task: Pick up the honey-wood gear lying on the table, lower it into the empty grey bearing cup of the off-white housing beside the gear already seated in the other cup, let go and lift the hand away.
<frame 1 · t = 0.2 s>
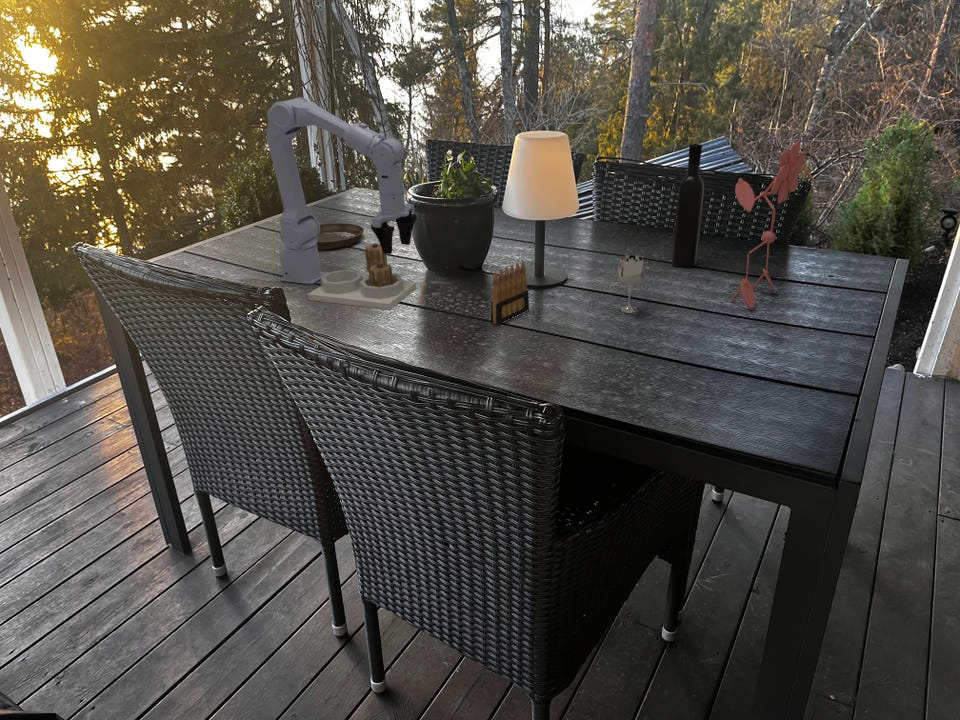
hand: (396, 248, 168), 10 cm above the table, tool pointing down, fingers open, 7 cm apart
wineglass: (628, 310, 154), on the table
housing: (363, 294, 169), on the table
loose gear: (377, 268, 186), on the table
figurine: (769, 304, 154), on the table
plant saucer: (330, 242, 210), on the table
seated gear: (382, 290, 166), resting on housing
ammunition clip: (510, 318, 153), on the table
wine bottle: (683, 265, 179), on the table
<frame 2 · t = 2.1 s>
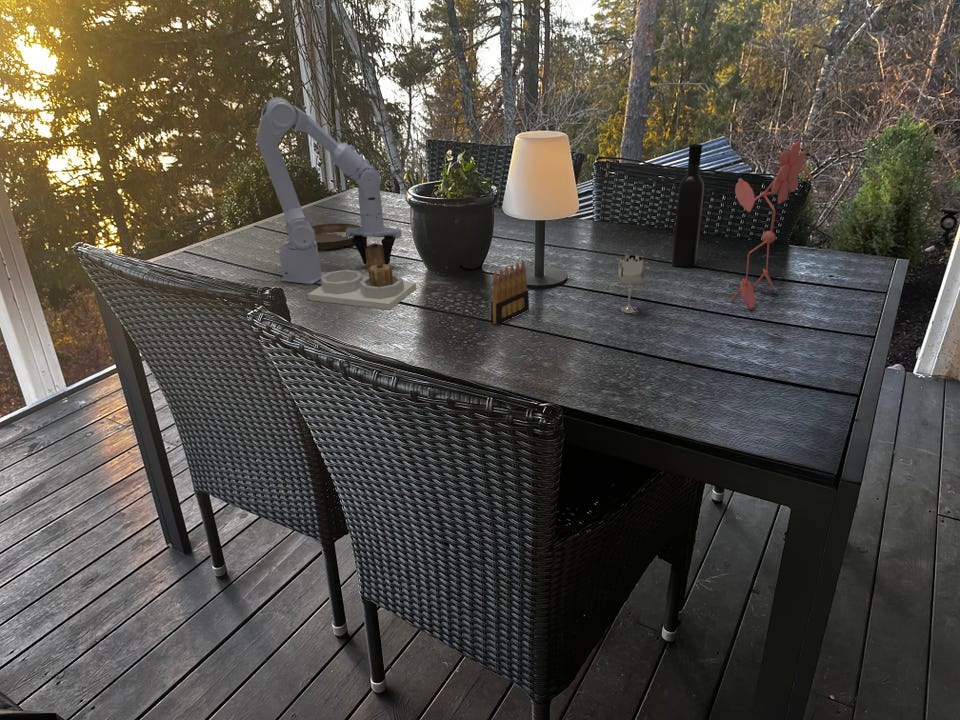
hand: (376, 263, 185), 1 cm above the table, tool pointing down, fingers closed on loose gear, 5 cm apart
loose gear: (377, 268, 186), on the table, touching gripper
everything else where it was.
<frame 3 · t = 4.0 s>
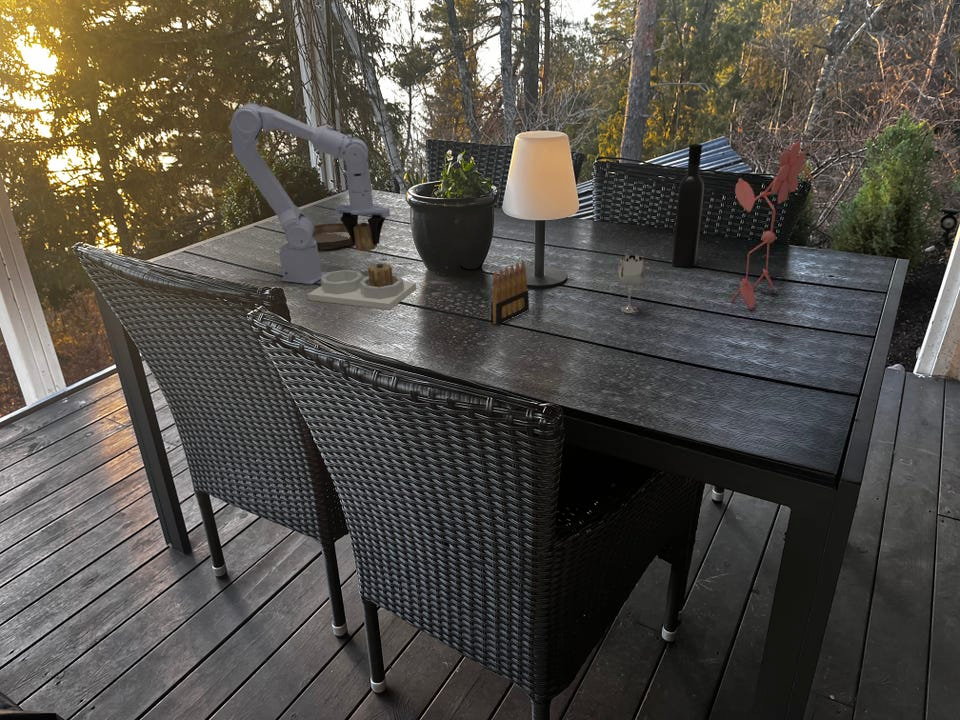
hand: (365, 242, 178), 8 cm above the table, tool pointing down, fingers closed on loose gear, 5 cm apart
loose gear: (366, 248, 179), point 7 cm above the table, touching gripper
everything else where it was.
when the fingers open (4 cm above the table, at t = 6.3 s): loose gear drops 1 cm, resting on housing.
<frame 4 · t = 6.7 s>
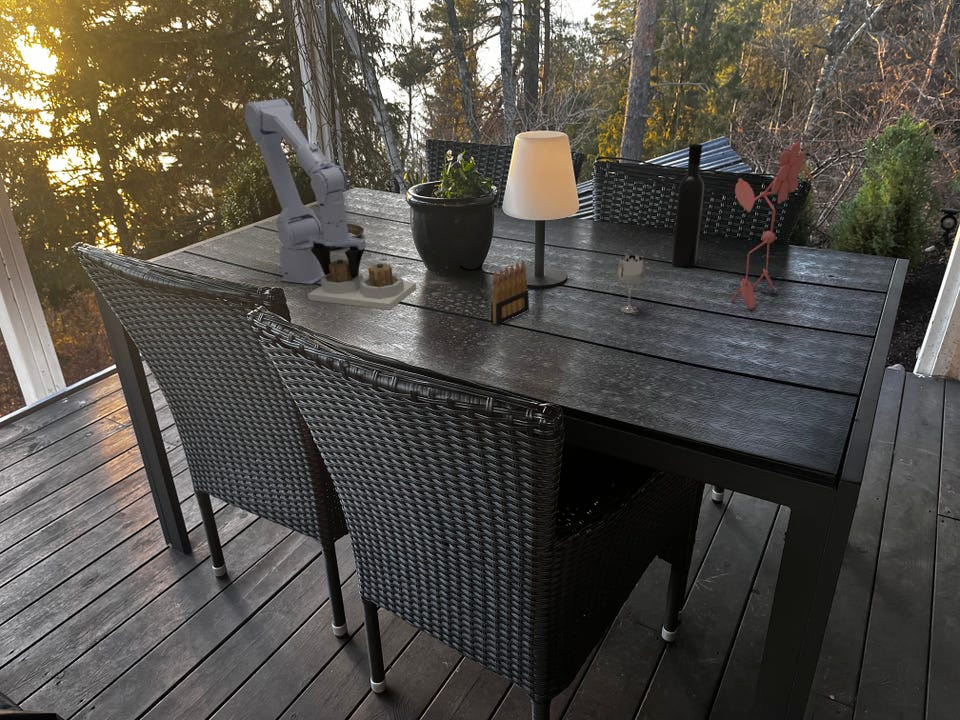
hand: (341, 275, 169), 4 cm above the table, tool pointing down, fingers open, 7 cm apart
loose gear: (343, 286, 170), point 2 cm above the table, touching housing
everything else where it was.
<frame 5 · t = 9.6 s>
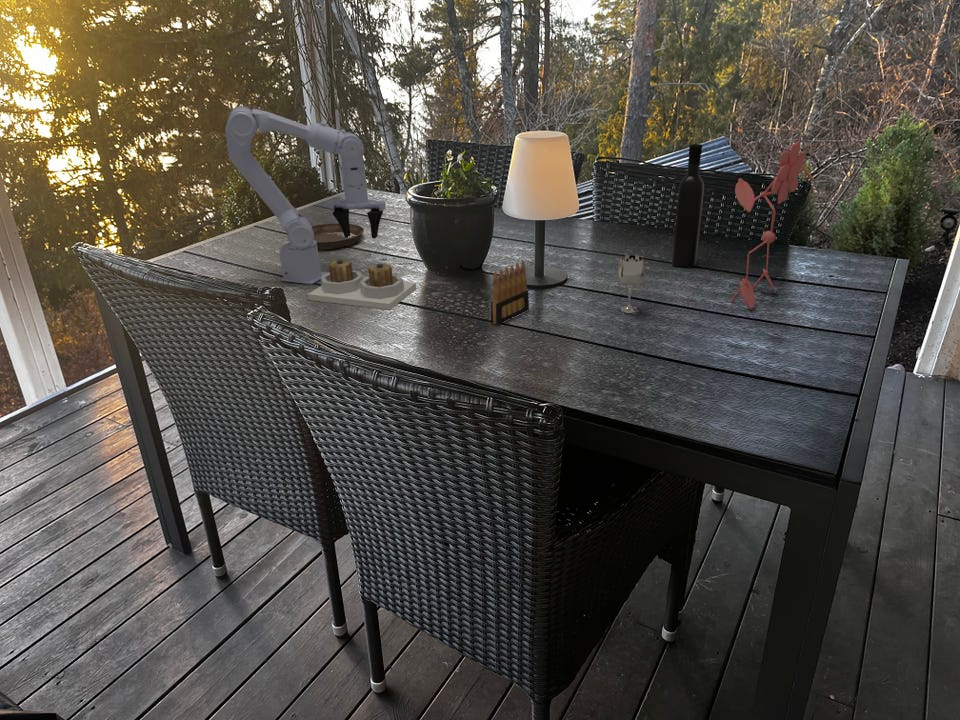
hand: (361, 236, 180), 9 cm above the table, tool pointing down, fingers open, 7 cm apart
nothing on the table moved.
at the end: loose gear 0.0 cm from the target spot on the housing, point 1.5 cm above the housing's base; loose gear tilted 0°; the gripper is holding nothing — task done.
